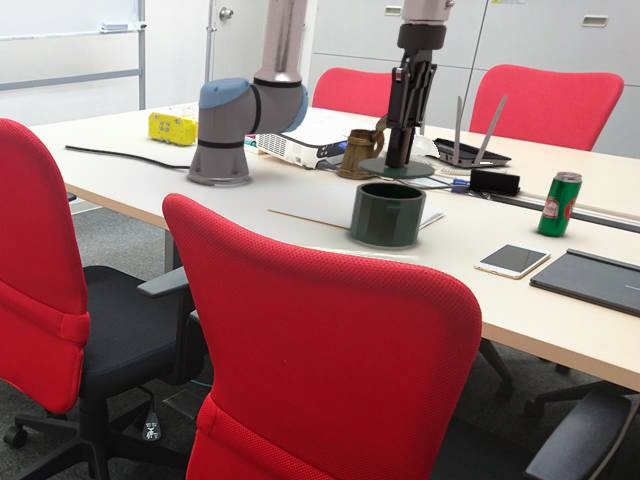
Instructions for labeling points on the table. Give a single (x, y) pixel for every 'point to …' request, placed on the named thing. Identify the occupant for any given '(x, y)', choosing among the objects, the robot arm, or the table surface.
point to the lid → (404, 172)
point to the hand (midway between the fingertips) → (396, 164)
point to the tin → (387, 214)
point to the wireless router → (466, 153)
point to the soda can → (560, 204)
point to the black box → (494, 182)
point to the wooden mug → (362, 150)
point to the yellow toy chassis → (171, 129)
